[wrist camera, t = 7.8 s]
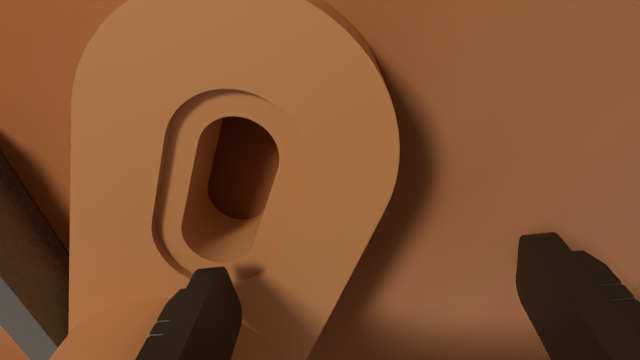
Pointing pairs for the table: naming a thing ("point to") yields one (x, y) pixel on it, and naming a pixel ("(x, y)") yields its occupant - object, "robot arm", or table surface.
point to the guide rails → (30, 273)
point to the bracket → (196, 163)
